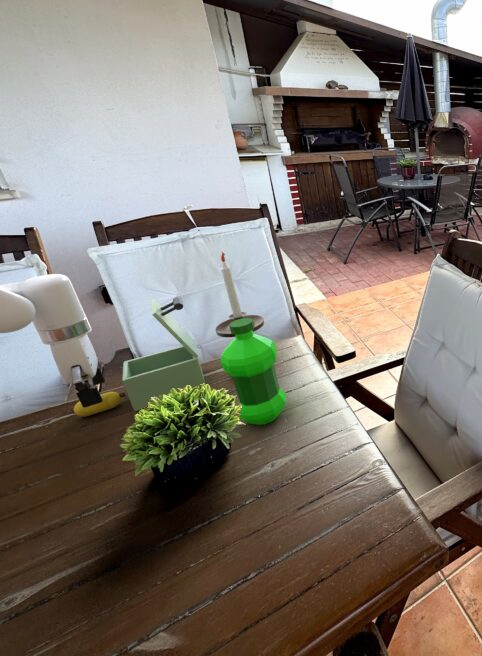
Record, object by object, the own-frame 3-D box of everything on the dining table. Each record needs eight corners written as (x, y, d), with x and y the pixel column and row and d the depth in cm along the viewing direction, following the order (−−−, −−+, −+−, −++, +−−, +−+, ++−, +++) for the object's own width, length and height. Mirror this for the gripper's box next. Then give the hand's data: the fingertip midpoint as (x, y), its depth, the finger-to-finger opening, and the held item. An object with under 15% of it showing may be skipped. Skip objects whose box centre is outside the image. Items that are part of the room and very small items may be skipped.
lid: (151, 314, 93) (177, 301, 95) (150, 300, 100) (174, 288, 103) (195, 358, 101) (217, 345, 103) (191, 342, 108) (212, 330, 111)
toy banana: (71, 420, 91) (66, 404, 91) (76, 419, 94) (71, 403, 94) (126, 403, 96) (121, 387, 97) (128, 403, 99) (124, 387, 100)
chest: (134, 411, 95) (122, 380, 92) (134, 390, 103) (123, 361, 100) (206, 387, 104) (197, 358, 101) (202, 370, 112) (193, 342, 109)
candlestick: (280, 367, 113) (253, 249, 101) (237, 386, 105) (202, 260, 93) (264, 355, 119) (237, 242, 107) (222, 371, 111) (187, 251, 99)
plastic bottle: (228, 428, 90) (199, 331, 81) (265, 399, 100) (242, 309, 91) (265, 436, 88) (239, 337, 79) (300, 406, 98) (279, 314, 89)
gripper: (46, 321, 91) (76, 383, 97) (32, 352, 79) (67, 421, 85) (92, 311, 96) (118, 371, 102) (85, 339, 84) (115, 405, 90)
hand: (95, 393), depth 94 cm, fingers open, 9 cm apart
